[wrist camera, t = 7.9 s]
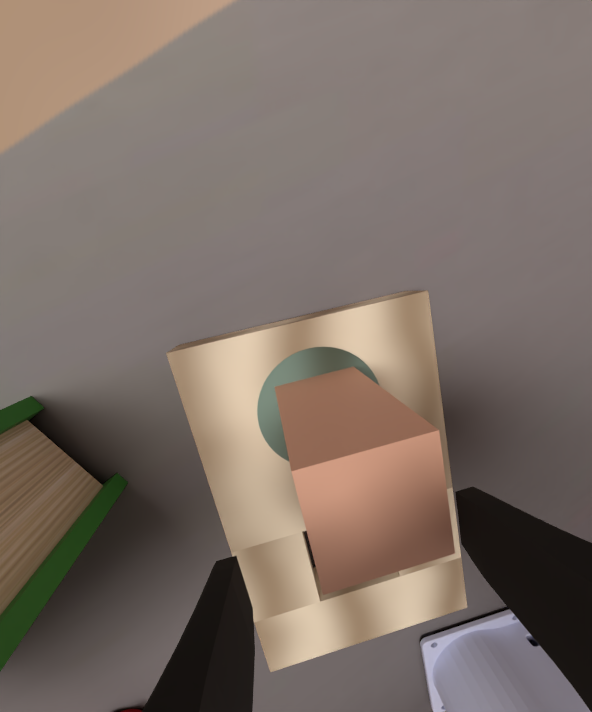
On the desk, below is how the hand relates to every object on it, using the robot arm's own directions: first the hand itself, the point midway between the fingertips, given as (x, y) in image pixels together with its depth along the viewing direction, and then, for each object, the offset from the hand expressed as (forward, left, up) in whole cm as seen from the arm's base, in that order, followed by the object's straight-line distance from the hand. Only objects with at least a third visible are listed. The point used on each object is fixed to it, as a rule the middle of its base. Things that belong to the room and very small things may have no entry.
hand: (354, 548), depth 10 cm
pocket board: (-1, +5, -10) cm, 11 cm away
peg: (-1, -1, -8) cm, 8 cm away
